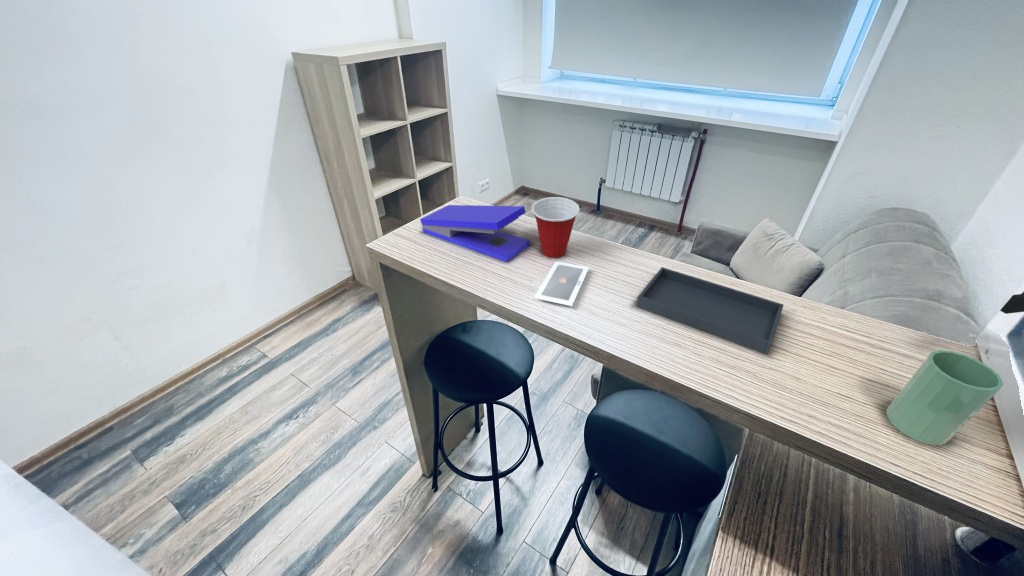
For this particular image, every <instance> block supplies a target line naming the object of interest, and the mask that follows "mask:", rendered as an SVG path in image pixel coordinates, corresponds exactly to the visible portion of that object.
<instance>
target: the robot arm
mask: <svg viewBox="0 0 1024 576" xmlns="http://www.w3.org/2000/svg"><path fill="white" fill-rule="evenodd" d="M999 311H1000V312H1001V313H1003V314H1005V315H1007V314H1017V313H1024V291H1022V292H1021V293H1018V294H1013V295H1012V296H1011V297H1010V298H1009V299H1008V300H1007V301H1006V302H1005V303H1004V304H1003V306H1002V307H1001V309H999Z"/></svg>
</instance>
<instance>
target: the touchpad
mask: <svg viewBox="0 0 1024 576" xmlns="http://www.w3.org/2000/svg"><path fill="white" fill-rule="evenodd" d="M589 270H590V267H588V266H583V265H578V264H577V265H576V264H573V263H567V262H562V261H558V260H557V261H554V263H553V265H552V266H551V268H550V270H549V271H548V273H547V274H546V276H545V278H544V280H542V283H541V285H540V286H539V288H538V290H537V291H536V293H535V295H534V296H533V298H534V299H537V300H541V301H546V302H551V303H556V304H560V305H565V306H568V307H573V304H574V302H575V300H576V297H577V296H578V294H579V292H580V290H581V287H582V285H583V282H584V280H585V278H586V276H587V273H588V272H589Z"/></svg>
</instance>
